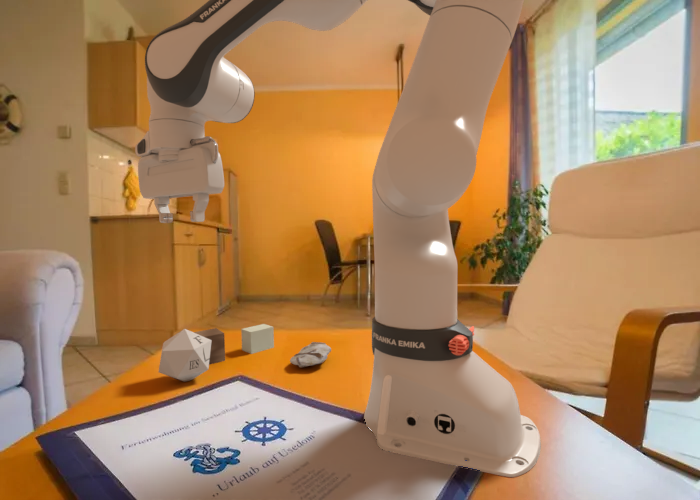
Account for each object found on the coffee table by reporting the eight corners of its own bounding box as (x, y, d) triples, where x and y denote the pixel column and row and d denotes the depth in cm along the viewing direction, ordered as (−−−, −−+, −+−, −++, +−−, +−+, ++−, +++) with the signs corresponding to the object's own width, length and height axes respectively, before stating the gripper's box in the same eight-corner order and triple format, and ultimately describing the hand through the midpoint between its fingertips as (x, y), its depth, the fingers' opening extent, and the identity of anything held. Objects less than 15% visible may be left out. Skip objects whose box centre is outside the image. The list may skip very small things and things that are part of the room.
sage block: (273, 347, 85) (273, 326, 85) (251, 354, 81) (250, 332, 81) (264, 344, 88) (263, 323, 88) (242, 350, 84) (241, 328, 83)
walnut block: (224, 333, 77) (225, 360, 77) (216, 328, 80) (217, 354, 81) (199, 337, 73) (200, 366, 74) (192, 332, 77) (193, 360, 78)
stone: (322, 372, 70) (321, 359, 69) (286, 370, 71) (285, 357, 71) (333, 352, 79) (333, 340, 79) (301, 351, 80) (301, 339, 80)
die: (194, 395, 61) (192, 336, 60) (148, 391, 63) (145, 334, 62) (221, 375, 69) (220, 323, 69) (180, 372, 71) (178, 321, 70)
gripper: (232, 138, 61) (234, 221, 62) (163, 153, 72) (166, 223, 73) (198, 130, 55) (202, 220, 56) (129, 147, 67) (133, 223, 67)
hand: (181, 222), depth 65 cm, fingers open, 8 cm apart
